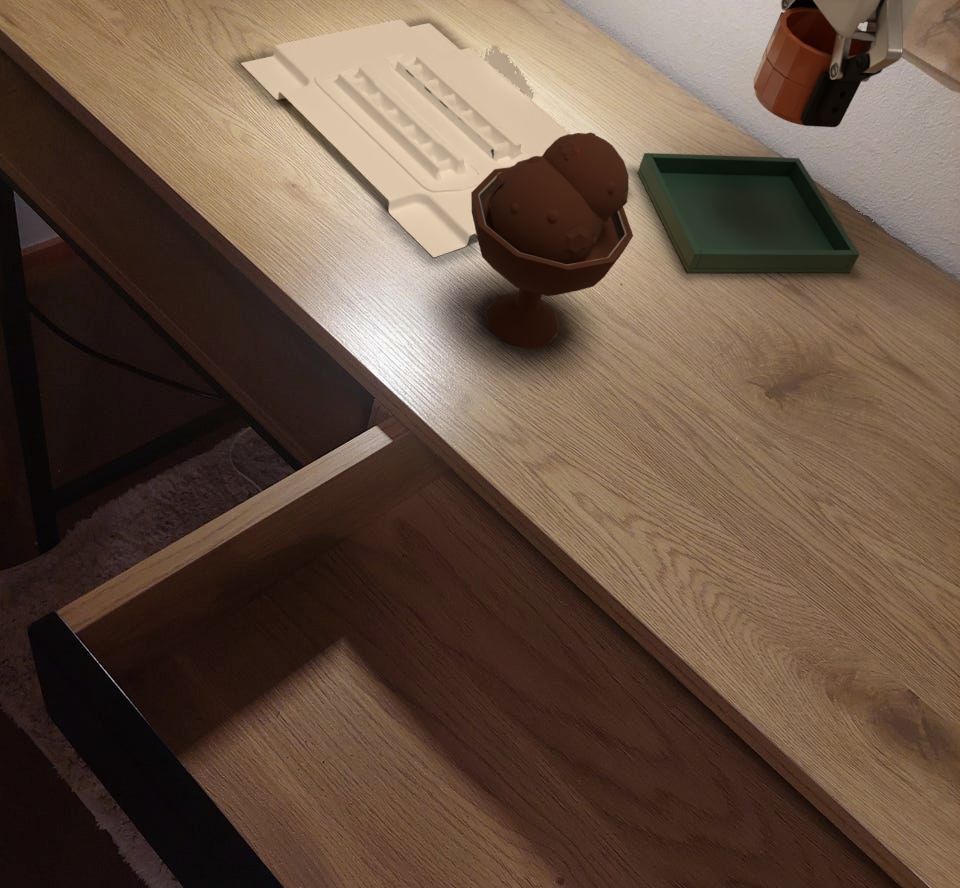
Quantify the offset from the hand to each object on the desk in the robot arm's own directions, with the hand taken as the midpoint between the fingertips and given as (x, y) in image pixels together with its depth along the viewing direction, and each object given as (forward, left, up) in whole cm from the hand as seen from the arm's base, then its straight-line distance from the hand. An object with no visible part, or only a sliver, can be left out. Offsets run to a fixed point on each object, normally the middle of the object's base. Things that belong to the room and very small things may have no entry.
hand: (799, 92), depth 82 cm
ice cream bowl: (+23, +12, -12) cm, 29 cm away
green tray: (0, 0, -12) cm, 12 cm away
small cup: (0, 0, -1) cm, 1 cm away
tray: (+25, -12, -12) cm, 30 cm away
